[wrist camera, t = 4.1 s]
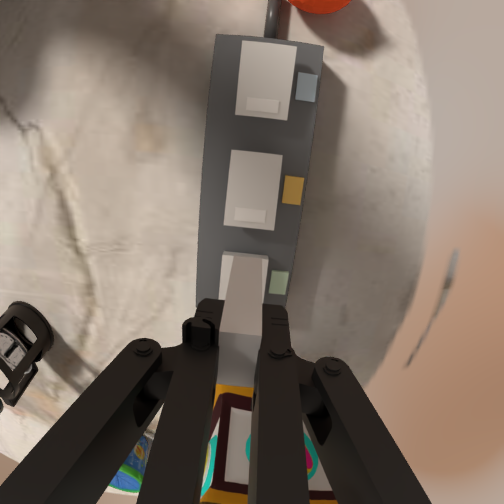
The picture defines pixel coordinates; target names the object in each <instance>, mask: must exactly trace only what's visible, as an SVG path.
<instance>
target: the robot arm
mask: <svg viewBox="0 0 504 504" xmlns="http://www.w3.org/2000/svg"><path fill="white" fill-rule="evenodd" d="M182 340H183V343H182V344H180V345H178V346H175V347H167V348H161V346H160V345H159V343H158V342H156V341H154V340H153V339H148V338H139V339H136V340H133V341H132V342H130V343H129V344H128V345H127V346H126V347H125V348H124V349H123V350H122V351H121V352H120V353H119V354H118V355H117V356H116V358H115V359H114V360H113V361H112V362H111V363H110V364H109V365H108V366H107V367H106V368H105V369H104V370H103V371H102V373H101V374H100V375H99V376H98V377H97V378H96V379H95V380H94V381H93V382H92V383H91V384H90V386H89V387H88V388H87V389H86V390H85V391H84V392H83V393H82V394H81V395H80V396H79V398H78V399H77V400H76V401H75V402H74V403H73V404H72V405H71V406H70V407H69V409H68V410H67V411H66V412H65V413H64V414H63V415H62V416H61V417H60V419H59V420H58V421H57V422H56V423H55V424H54V425H53V426H52V427H51V429H50V430H49V431H48V432H47V433H46V434H45V435H44V436H43V438H42V439H41V440H40V441H39V442H38V443H37V444H36V445H35V447H34V448H33V449H32V450H31V451H30V452H29V453H28V455H27V456H26V457H25V458H24V459H23V460H22V461H21V463H20V464H19V465H18V466H17V467H16V468H15V470H14V471H13V472H12V473H11V474H10V475H9V477H8V478H7V479H6V480H5V481H4V482H3V484H2V485H1V486H0V504H96V503H97V501H98V500H99V499H100V497H101V496H102V494H103V493H104V491H105V490H106V488H107V487H108V485H109V484H110V482H111V481H112V479H113V478H114V476H115V475H116V473H117V472H118V470H119V469H120V467H121V466H122V465H123V463H124V462H125V460H126V459H127V457H128V456H129V454H130V453H131V451H132V450H133V448H134V447H135V445H136V444H137V442H138V441H139V439H140V438H141V436H142V435H143V433H144V432H145V430H146V429H147V427H148V426H149V424H150V423H151V421H152V420H153V418H154V417H155V415H156V414H157V412H158V411H159V409H160V408H161V406H162V405H163V403H164V405H163V408H162V412H161V415H160V419H159V422H158V426H157V429H156V433H155V436H154V440H153V443H152V447H151V450H150V454H149V458H148V461H147V465H146V469H145V472H144V476H143V480H142V484H141V487H140V491H139V495H138V499H137V503H136V504H200V497H201V490H202V483H203V476H204V468H205V461H206V454H207V447H208V441H209V434H210V427H211V420H212V413H213V407H214V400H215V393H216V384H223V385H232V386H241V387H252V388H253V387H254V390H253V396H252V402H251V408H250V409H252V416H251V438H250V460H249V481H248V502H247V504H310V500H309V487H308V474H307V463H306V451H305V440H304V430H303V422H304V424H305V427H306V429H307V431H308V434H309V436H310V439H311V441H312V443H313V446H314V448H315V451H316V453H317V455H318V458H319V460H320V462H321V465H322V467H323V470H324V472H325V474H326V477H327V479H328V481H329V484H330V486H331V488H332V491H333V493H334V495H335V498H336V500H337V502H338V504H432V503H431V502H430V500H429V498H428V496H427V495H426V493H425V491H424V490H423V488H422V486H421V485H420V483H419V481H418V480H417V478H416V476H415V474H414V473H413V471H412V469H411V468H410V466H409V465H408V463H407V461H406V460H405V458H404V456H403V455H402V453H401V451H400V449H399V448H398V446H397V445H396V443H395V441H394V439H393V438H392V436H391V434H390V433H389V431H388V430H387V428H386V426H385V425H384V423H383V421H382V420H381V418H380V416H379V415H378V413H377V412H376V410H375V408H374V407H373V405H372V403H371V402H370V400H369V399H368V397H367V395H366V394H365V392H364V390H363V389H362V387H361V386H360V384H359V382H358V381H357V379H356V378H355V376H354V374H353V373H352V371H351V370H350V368H349V366H348V365H347V364H346V363H345V362H344V361H342V360H340V359H338V358H334V357H324V358H320V359H319V360H318V361H317V362H316V363H312V362H309V361H306V360H303V359H301V358H299V357H298V356H297V355H296V354H295V352H294V350H293V349H292V348H291V341H290V332H289V323H288V314H287V311H286V310H285V308H284V307H283V306H282V305H273V304H263V303H262V258H256V257H247V256H237V255H234V257H233V262H232V267H231V272H230V277H229V282H228V287H227V293H226V298H225V300H219V299H211V298H204V299H203V300H202V301H201V302H199V303H198V306H197V309H196V313H195V316H194V317H192V318H189V319H187V320H186V321H185V322H184V323H183V324H182ZM164 401H165V402H164Z"/></svg>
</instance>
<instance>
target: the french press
mask: <svg viewBox="0 0 504 504" xmlns="http://www.w3.org/2000/svg"><path fill="white" fill-rule="evenodd" d="M13 317H16V318H18V319H20V320H21V321H23V322H24V323H25V324H26V325H27V326H28V327H29V328H30V329H31V330H32V331H33V333H34V334H35V336H36V337H37V340H36V341H35V343H34V344H32V343H30V342H28V341H27V340H26V339H24V338H23V337H22V336H21V334H20V333H19V332H18V330H17V328H16V326H15V324H14V320H13ZM53 342H54V338H53V333H52V330H51V328H50V325H49V324H48V322H47V320H46V319H45V318H44V317H43V315H42V314H41V313H40V312H39V311H38V310H37V309H35V308H34V307H33V306H31V305H30V304H28V303H25V302H22V301H16V302H13V303H12V304H11V305H10V306H9V307H8V310H7V311H6V312H5V313H4V314H3V315H2V316H1V317H0V369H1V371H2V372H3V373H4V374H5V376H6V377H7V378H8V380H9V383H8V384H7V386H6V387H5V388H4V390H2V389H1V388H0V397H1V398H2V399H3V400H4V402H5V403H6V404H7V405H10V406H12V407H14V406H15V405H16V403H17V402H18V400H19V399H20V397H21V396H22V394H23V393H24V391H25V390H26V388H27V387H28V385H29V384H30V382H31V381H32V379H33V378H34V376H35V375H36V373H37V372H38V367H37V365H36V363H35V362H38V361H40V360H41V359H42V357H43V356H44V355H45V353H46V352H47V351H49V350H50V349H51V347H52V345H53ZM10 368H11V369H13V371H12V370H11V369H10ZM23 376H24V377H23ZM21 379H22V380H21ZM19 382H20V383H19ZM12 392H13V393H12ZM2 410H3V403H2V401H1V399H0V413H1V412H2Z"/></svg>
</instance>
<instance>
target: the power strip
mask: <svg viewBox="0 0 504 504" xmlns="http://www.w3.org/2000/svg"><path fill="white" fill-rule="evenodd" d="M280 7H281V0H268V6H267V14H266V22H265V30H264V38H263V37H253V36H240V35H223V34H216V38H215V46H214V54H213V62H212V71H211V80H210V89H209V98H208V108H207V119H206V129H205V141H204V153H203V166H202V180H201V195H200V211H199V230H198V252H197V279H196V307H197V306H198V303H199V302H201V301H202V300H203V299H204V298H211V299H219V287H220V276H221V265H222V254H223V252H224V251H229V252H238V253H247V254H256V255H266V256H268V259H269V261H268V269H267V277H266V285H265V292H264V300H263V304H273V305H282V306H283V307H284V308H285V306H286V301H287V296H288V290H289V285H290V279H291V274H292V268H293V262H294V257H295V251H296V245H297V239H298V233H299V227H300V221H301V215H302V209H303V202H304V196H305V189H306V183H307V176H308V169H309V162H310V155H311V148H312V141H313V134H314V126H315V119H316V111H317V103H318V95H319V87H320V78H321V69H322V60H323V51H324V46H320V45H314V44H308V43H302V42H295V41H288V40H281V39H277V32H278V24H279V15H280ZM242 40H243V41H255V42H265V43H274V44H282V45H289V46H296V47H297V51H296V58H295V66H294V73H293V81H292V88H291V95H290V102H289V110H288V117H287V120H280V119H272V118H263V117H254V116H244V115H235V110H236V99H237V88H238V78H239V68H240V58H241V48H242ZM231 150H241V151H251V152H260V153H269V154H277V155H283V157H282V165H281V174H280V183H279V192H278V200H277V209H276V217H275V226H274V231H273V230H264V229H255V228H246V227H237V226H227V225H224V215H225V205H226V196H227V186H228V177H229V168H230V159H231Z"/></svg>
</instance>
